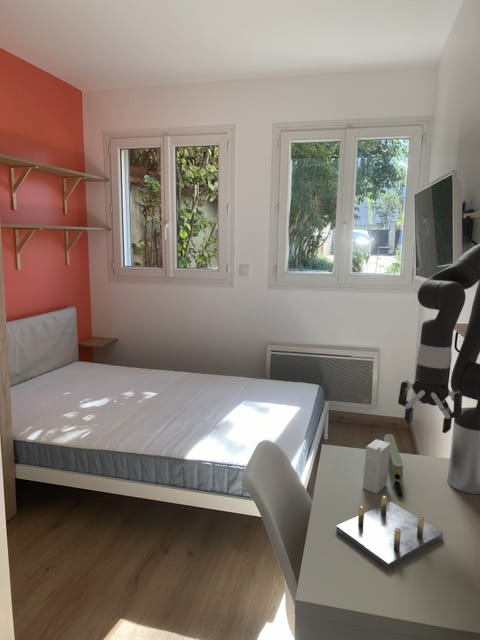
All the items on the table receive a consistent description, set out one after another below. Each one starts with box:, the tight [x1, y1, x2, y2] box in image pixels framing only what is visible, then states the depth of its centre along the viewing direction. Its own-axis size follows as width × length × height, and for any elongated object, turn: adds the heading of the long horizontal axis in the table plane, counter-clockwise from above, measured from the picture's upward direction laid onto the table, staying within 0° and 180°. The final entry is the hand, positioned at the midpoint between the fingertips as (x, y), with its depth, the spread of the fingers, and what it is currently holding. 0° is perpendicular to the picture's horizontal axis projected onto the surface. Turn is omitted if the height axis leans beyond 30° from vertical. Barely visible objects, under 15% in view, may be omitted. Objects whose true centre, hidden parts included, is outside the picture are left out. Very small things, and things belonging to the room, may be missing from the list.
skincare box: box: [362, 439, 391, 494], centre depth 117 cm, size 6×4×12 cm
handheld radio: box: [383, 433, 404, 498], centre depth 125 cm, size 7×3×25 cm
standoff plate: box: [336, 495, 444, 571], centre depth 99 cm, size 18×14×6 cm
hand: (426, 427), depth 111 cm, fingers open, 8 cm apart
